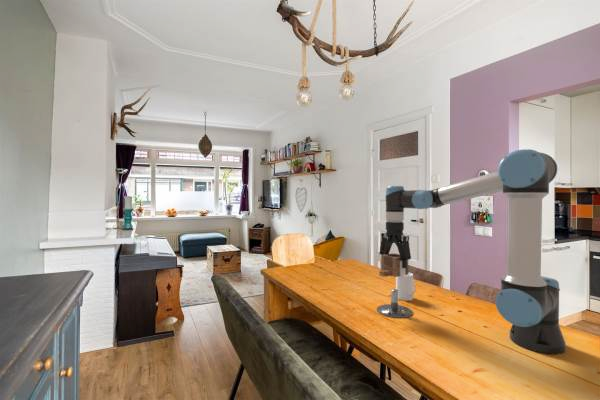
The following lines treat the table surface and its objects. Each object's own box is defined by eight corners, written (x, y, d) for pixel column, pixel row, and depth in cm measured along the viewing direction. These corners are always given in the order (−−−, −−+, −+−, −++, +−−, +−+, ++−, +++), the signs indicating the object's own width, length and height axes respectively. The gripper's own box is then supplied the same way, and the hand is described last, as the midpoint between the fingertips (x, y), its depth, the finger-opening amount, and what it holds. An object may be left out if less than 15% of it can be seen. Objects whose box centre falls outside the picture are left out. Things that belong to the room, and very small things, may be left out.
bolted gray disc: (375, 304, 144) (375, 284, 143) (408, 305, 141) (408, 285, 141) (378, 316, 129) (378, 294, 129) (416, 318, 127) (416, 296, 126)
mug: (421, 301, 147) (421, 276, 147) (406, 303, 144) (406, 278, 144) (406, 294, 158) (406, 271, 158) (391, 295, 156) (391, 272, 155)
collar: (393, 270, 140) (393, 253, 140) (408, 274, 134) (408, 256, 133) (374, 274, 134) (374, 255, 134) (388, 278, 127) (388, 259, 127)
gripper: (420, 222, 128) (420, 277, 128) (382, 219, 145) (382, 267, 146) (408, 223, 124) (408, 280, 124) (371, 220, 141) (371, 269, 142)
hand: (394, 273), depth 135 cm, fingers closed on collar, 8 cm apart
